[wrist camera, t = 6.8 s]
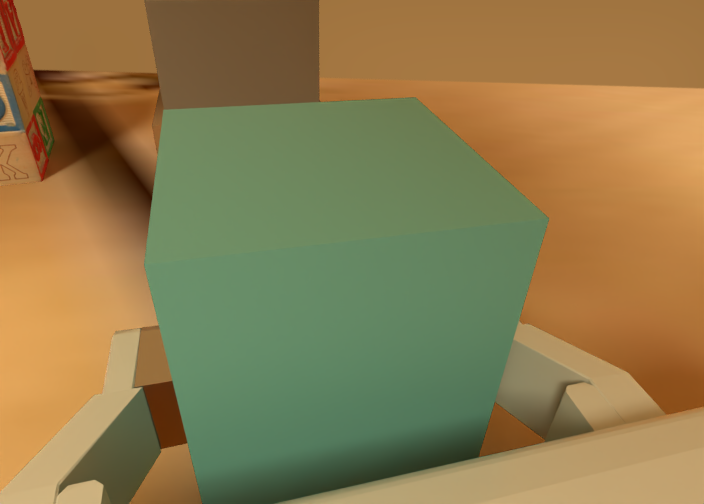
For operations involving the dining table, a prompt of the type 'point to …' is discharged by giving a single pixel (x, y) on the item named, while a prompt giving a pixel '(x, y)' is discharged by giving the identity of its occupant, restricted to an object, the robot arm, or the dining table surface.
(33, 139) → the stack of blocks
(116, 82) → the dining table surface
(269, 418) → the teal pillar
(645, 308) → the dining table surface
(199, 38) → the tower top
